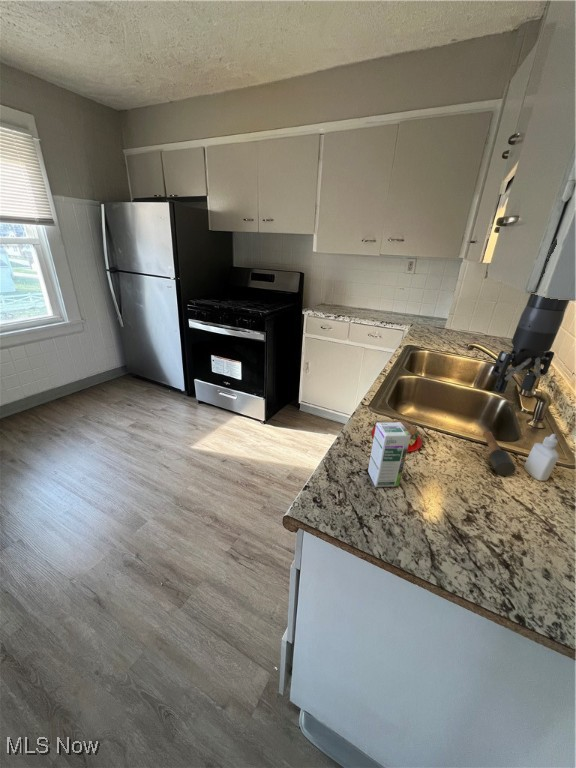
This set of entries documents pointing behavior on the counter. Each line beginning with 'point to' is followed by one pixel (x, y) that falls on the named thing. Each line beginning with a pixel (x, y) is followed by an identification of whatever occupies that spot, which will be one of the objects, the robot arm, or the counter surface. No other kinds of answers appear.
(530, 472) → the eye dropper bottle
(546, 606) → the counter surface
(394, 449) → the syrup box
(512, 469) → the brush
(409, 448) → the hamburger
